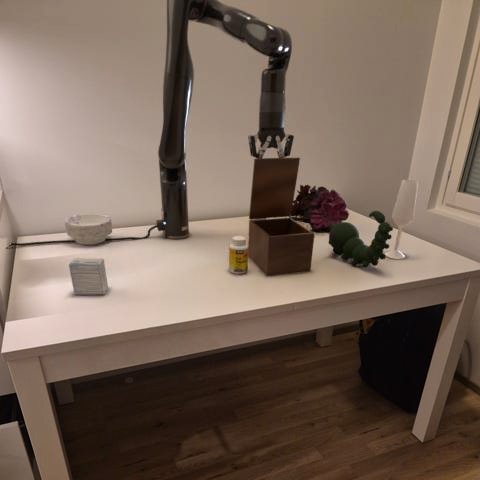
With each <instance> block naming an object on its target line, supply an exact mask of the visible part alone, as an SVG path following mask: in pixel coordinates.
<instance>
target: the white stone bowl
mask: <svg viewBox="0 0 480 480" xmlns="http://www.w3.org/2000/svg"><path fill="white" fill-rule="evenodd" d="M64 226H65V230H66V231H65V232H66V235H67V236H68V237H70V238H72V239H73V240H75V241H76V242H75V243H77V244H80V245H85V246H92V245H99V244H101V243H103V242H106V241H105V239H108V236H109V235H111V234H112V233H113V223H112V218H111V217H110V216H109V215H106V214H102V213H79V214H75V215H70V216H68V217H66V218H65V220H64Z"/></svg>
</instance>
